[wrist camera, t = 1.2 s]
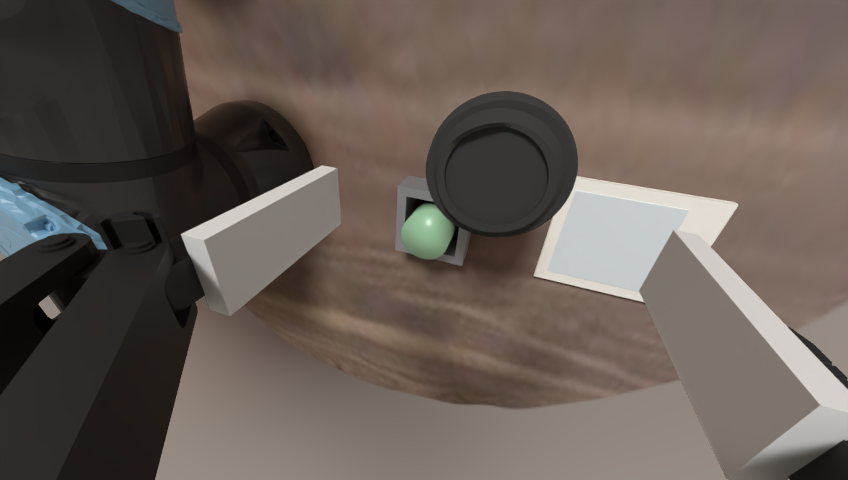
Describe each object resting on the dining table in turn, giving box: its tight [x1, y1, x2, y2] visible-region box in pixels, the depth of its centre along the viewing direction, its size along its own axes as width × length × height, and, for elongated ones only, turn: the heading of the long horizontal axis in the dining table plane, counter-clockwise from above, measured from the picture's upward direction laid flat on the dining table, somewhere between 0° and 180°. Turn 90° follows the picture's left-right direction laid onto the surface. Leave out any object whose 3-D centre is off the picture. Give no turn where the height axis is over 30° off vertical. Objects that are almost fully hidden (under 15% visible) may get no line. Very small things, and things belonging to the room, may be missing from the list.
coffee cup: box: [426, 91, 578, 237], centre depth 23 cm, size 9×9×15 cm
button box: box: [395, 176, 471, 266], centre depth 35 cm, size 8×8×4 cm
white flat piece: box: [534, 176, 738, 302], centre depth 31 cm, size 14×12×1 cm
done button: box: [401, 201, 457, 259], centre depth 33 cm, size 5×5×4 cm
